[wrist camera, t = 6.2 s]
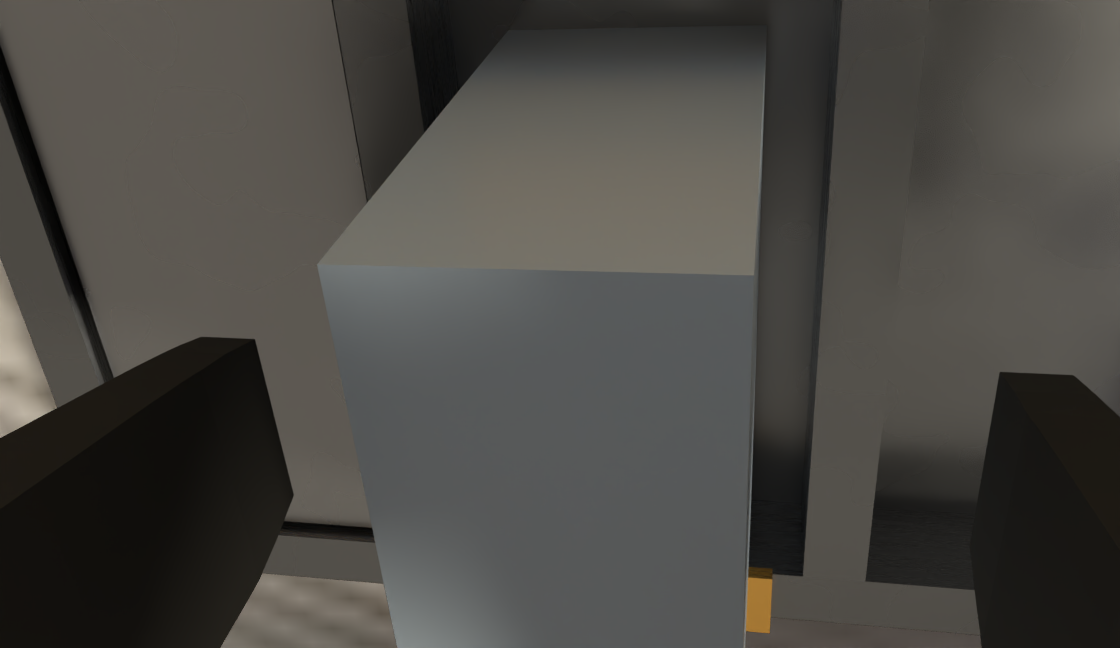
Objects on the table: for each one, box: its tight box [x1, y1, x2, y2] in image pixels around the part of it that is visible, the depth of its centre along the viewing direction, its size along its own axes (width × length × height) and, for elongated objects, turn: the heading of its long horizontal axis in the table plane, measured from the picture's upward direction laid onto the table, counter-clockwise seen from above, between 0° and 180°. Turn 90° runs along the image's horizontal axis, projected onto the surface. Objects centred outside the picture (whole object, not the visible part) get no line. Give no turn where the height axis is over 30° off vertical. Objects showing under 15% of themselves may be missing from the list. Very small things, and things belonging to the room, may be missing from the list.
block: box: [317, 25, 767, 648], centre depth 11 cm, size 6×3×6 cm, turn 4°
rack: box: [0, 0, 1120, 635], centre depth 13 cm, size 10×16×2 cm, turn 94°
